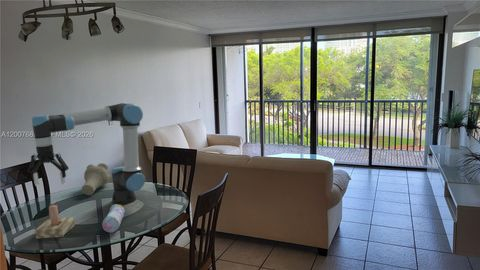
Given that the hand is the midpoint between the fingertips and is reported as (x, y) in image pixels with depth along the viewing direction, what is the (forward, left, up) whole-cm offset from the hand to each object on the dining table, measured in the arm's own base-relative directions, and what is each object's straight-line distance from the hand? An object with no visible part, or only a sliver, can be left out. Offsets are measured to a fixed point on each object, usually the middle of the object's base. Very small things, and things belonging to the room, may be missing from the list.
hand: (50, 184), depth 182 cm
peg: (0, +1, -26) cm, 26 cm away
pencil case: (-30, -2, -27) cm, 41 cm away
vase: (+4, -65, -27) cm, 71 cm away
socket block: (0, +1, -27) cm, 27 cm away
